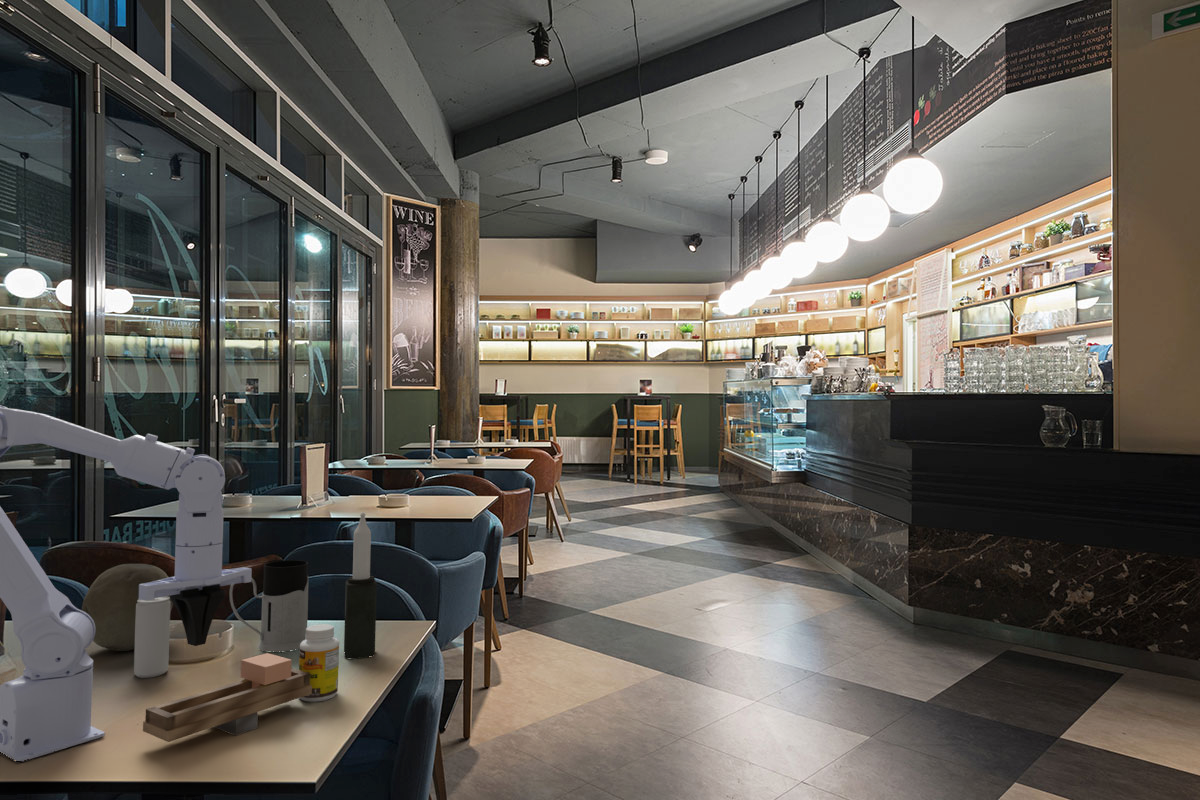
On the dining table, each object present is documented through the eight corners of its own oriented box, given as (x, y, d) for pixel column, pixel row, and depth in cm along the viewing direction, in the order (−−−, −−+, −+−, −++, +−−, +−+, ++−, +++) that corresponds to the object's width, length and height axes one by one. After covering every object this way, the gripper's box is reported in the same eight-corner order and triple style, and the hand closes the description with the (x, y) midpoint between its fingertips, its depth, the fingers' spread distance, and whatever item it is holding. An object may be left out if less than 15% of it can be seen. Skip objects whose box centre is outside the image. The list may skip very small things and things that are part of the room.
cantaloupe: (165, 655, 130) (168, 569, 131) (69, 663, 125) (73, 573, 125) (178, 634, 143) (181, 556, 144) (92, 641, 138) (95, 560, 139)
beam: (168, 759, 89) (170, 718, 89) (141, 747, 93) (142, 707, 93) (312, 708, 106) (313, 673, 106) (284, 699, 110) (285, 665, 110)
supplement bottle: (289, 698, 110) (291, 628, 110) (320, 687, 115) (322, 620, 115) (315, 706, 107) (317, 634, 107) (345, 694, 112) (347, 625, 112)
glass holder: (317, 645, 137) (320, 563, 137) (237, 662, 126) (240, 573, 127) (296, 636, 143) (299, 557, 143) (218, 651, 132) (221, 567, 133)
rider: (264, 697, 100) (265, 667, 100) (240, 689, 103) (241, 660, 103) (290, 689, 104) (291, 659, 104) (266, 681, 107) (267, 652, 107)
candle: (375, 656, 131) (379, 513, 132) (344, 659, 129) (348, 514, 130) (373, 648, 135) (376, 510, 136) (343, 651, 133) (347, 511, 134)
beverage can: (151, 679, 117) (154, 603, 118) (125, 677, 118) (128, 601, 119) (175, 670, 122) (177, 596, 123) (149, 668, 123) (152, 595, 124)
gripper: (160, 553, 94) (156, 662, 93) (265, 539, 106) (262, 635, 105) (131, 548, 97) (128, 653, 97) (236, 535, 110) (234, 628, 109)
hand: (196, 643), depth 101 cm, fingers closed
